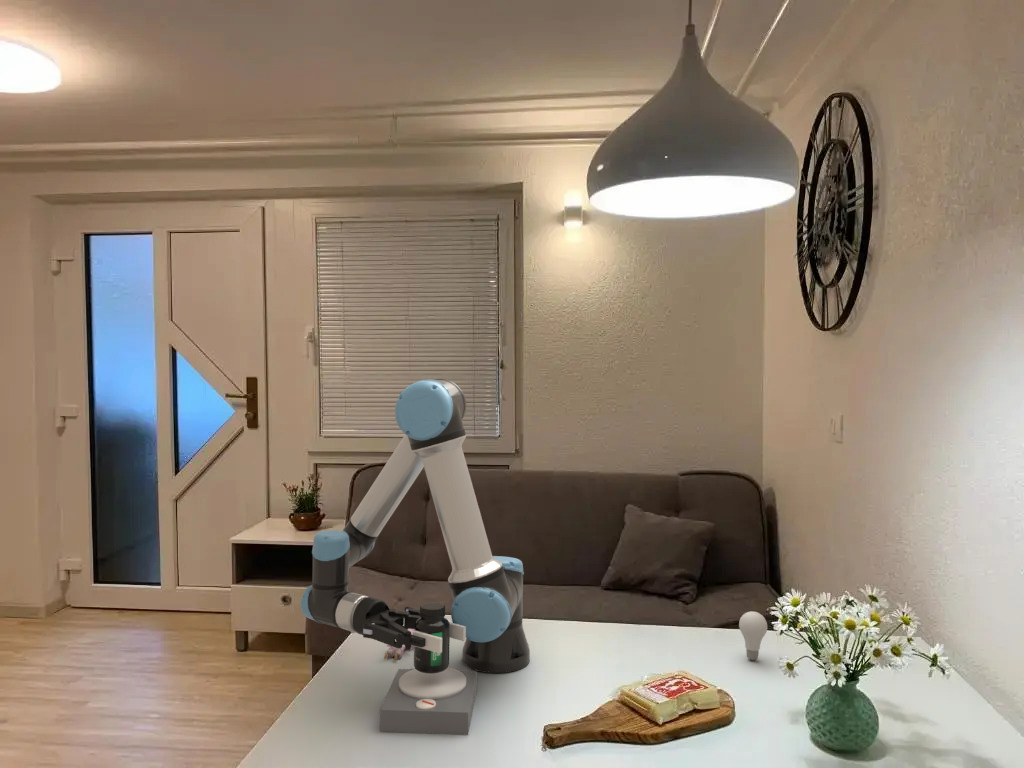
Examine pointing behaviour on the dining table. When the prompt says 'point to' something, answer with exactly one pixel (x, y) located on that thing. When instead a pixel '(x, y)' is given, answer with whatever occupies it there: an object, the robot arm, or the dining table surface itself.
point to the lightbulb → (753, 632)
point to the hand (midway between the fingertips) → (452, 639)
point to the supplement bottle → (436, 626)
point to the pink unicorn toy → (396, 650)
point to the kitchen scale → (429, 702)
